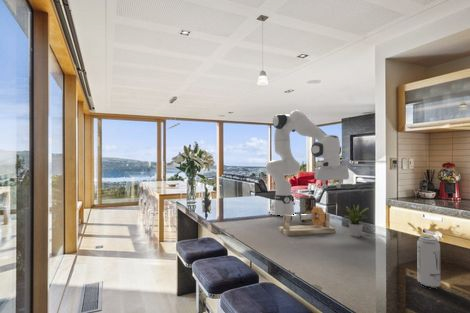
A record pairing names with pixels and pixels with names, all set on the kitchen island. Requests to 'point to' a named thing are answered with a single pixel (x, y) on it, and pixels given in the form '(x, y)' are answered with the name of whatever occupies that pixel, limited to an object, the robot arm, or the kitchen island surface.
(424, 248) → the energy drink can
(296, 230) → the pipe stand
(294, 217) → the steel pipe
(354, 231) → the house plant
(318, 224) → the orange faceted ring
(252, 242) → the kitchen island surface
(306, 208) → the coffee box
